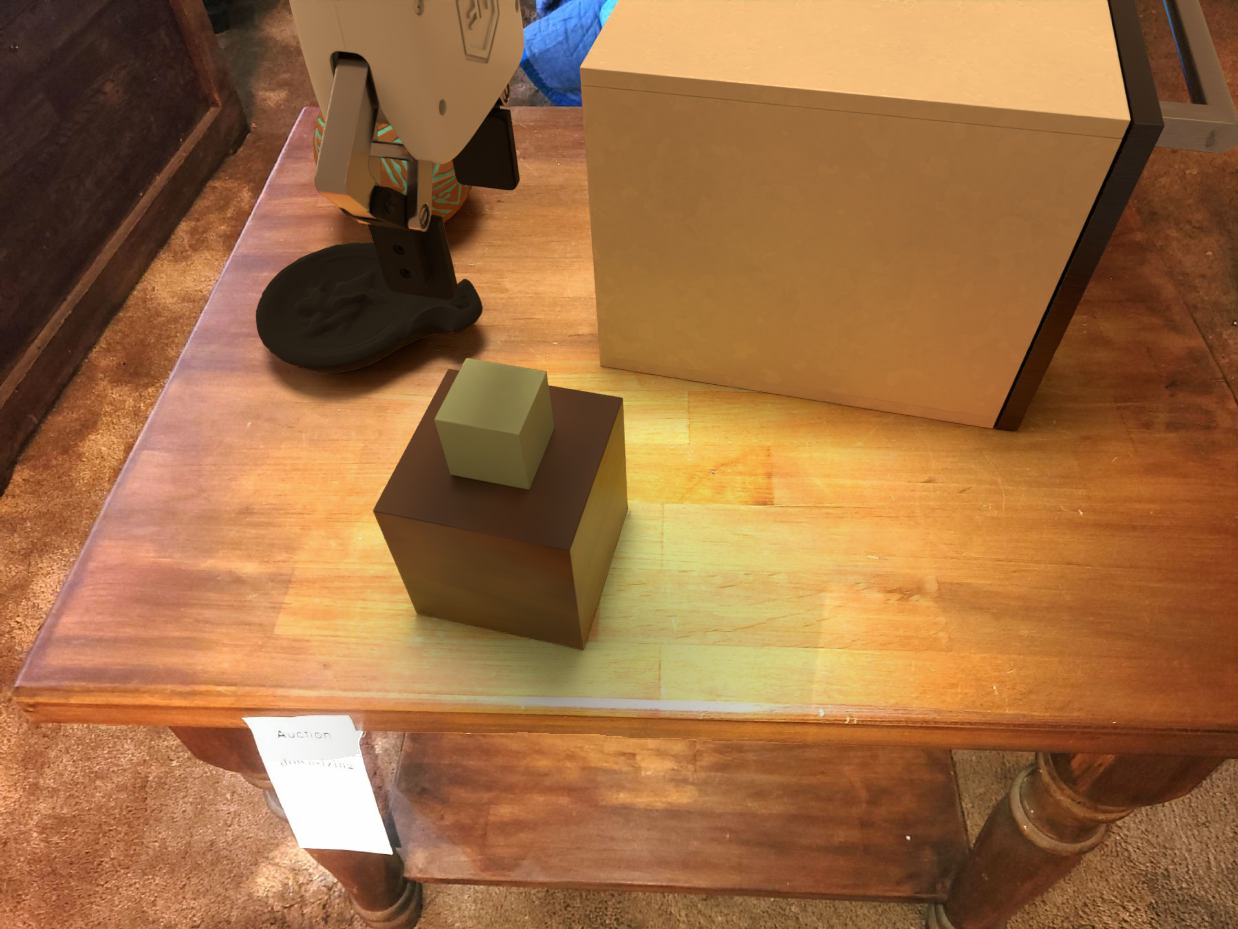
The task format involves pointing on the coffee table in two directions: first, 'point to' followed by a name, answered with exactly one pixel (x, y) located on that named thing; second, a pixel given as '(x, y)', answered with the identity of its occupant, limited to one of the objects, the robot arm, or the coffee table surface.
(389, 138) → the decorative sphere
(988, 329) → the oven
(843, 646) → the coffee table surface
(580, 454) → the stand
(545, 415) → the block
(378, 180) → the robot arm
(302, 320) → the oil lamp
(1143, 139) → the oven door
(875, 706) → the coffee table surface
